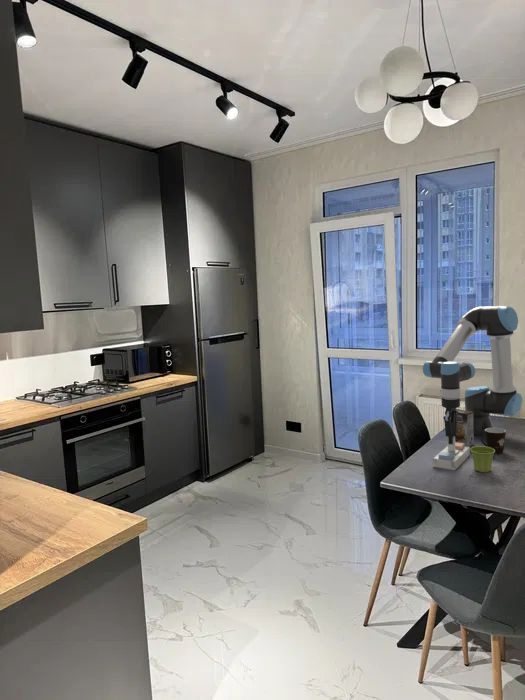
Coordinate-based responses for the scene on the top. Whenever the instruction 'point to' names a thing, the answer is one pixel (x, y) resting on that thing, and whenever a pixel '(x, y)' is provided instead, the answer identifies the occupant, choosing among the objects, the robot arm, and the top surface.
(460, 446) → the terracotta button
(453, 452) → the sage button
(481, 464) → the plant pot
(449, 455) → the slate button
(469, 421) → the coffee box
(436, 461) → the button panel
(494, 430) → the coffee mug
